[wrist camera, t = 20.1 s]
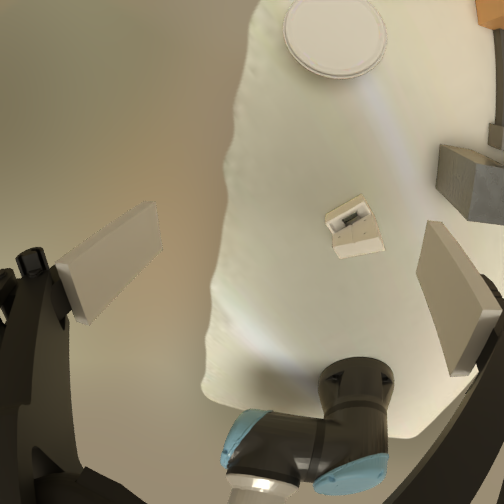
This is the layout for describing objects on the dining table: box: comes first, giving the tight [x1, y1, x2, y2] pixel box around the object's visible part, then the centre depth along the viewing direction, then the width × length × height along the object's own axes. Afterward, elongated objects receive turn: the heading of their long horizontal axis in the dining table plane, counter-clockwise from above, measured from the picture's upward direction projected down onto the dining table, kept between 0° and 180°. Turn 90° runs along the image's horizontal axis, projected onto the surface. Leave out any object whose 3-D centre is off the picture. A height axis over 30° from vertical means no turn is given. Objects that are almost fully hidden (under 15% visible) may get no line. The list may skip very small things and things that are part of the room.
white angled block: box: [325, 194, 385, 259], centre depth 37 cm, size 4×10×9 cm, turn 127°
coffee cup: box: [283, 0, 387, 79], centre depth 26 cm, size 9×9×12 cm
